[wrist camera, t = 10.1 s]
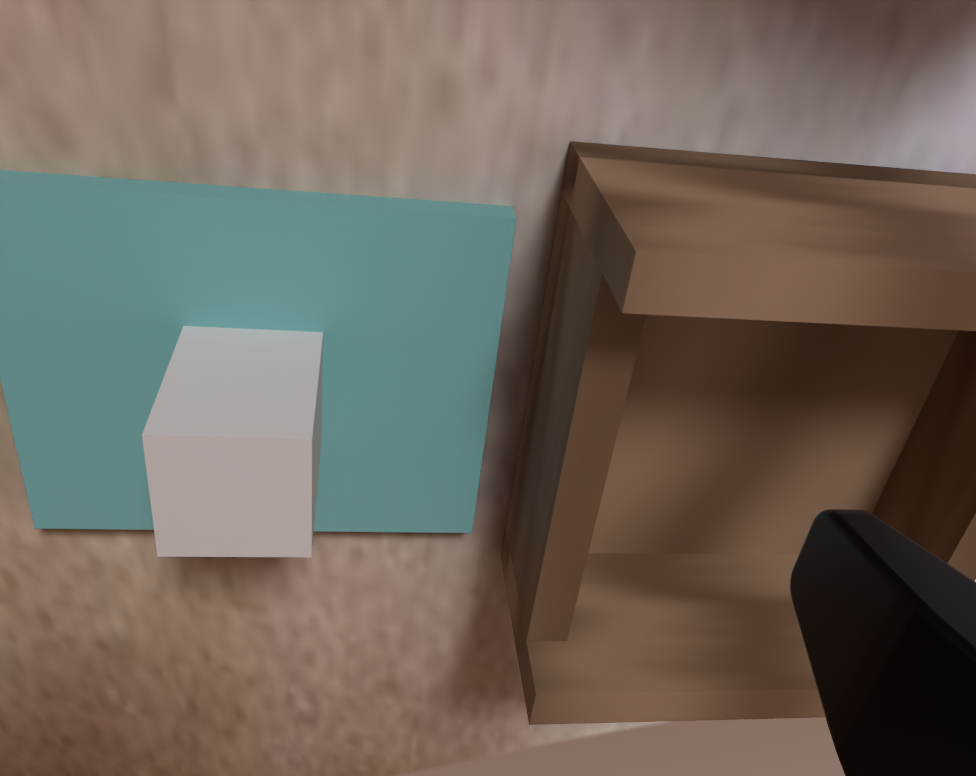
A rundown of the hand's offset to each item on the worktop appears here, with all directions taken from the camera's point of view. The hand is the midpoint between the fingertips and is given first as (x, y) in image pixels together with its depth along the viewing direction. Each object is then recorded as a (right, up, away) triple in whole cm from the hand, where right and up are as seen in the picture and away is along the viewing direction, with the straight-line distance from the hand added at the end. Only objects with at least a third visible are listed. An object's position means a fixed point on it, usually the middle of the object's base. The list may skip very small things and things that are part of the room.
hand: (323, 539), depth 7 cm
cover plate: (-4, +2, +13) cm, 14 cm away
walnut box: (+8, +1, +15) cm, 17 cm away
